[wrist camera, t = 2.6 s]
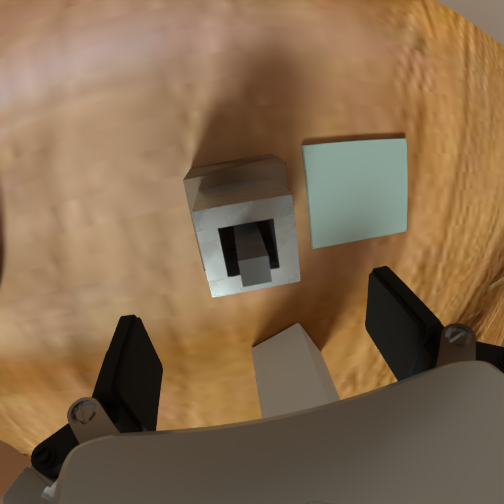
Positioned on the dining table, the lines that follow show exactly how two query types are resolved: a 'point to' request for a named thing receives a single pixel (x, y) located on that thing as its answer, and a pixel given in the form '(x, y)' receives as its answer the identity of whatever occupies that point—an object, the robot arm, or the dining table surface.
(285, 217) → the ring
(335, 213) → the mat
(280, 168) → the post
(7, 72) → the dining table surface
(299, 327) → the milk carton
